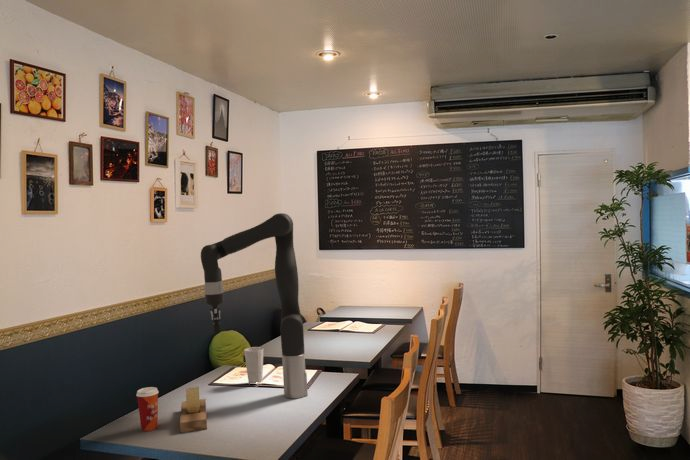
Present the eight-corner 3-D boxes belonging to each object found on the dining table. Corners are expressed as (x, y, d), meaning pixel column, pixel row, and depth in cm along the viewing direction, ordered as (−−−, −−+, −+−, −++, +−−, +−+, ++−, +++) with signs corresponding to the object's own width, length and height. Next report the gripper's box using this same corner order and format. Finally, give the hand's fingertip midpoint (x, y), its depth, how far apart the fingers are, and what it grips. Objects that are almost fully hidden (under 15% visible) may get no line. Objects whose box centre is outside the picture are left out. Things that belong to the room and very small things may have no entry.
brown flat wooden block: (205, 407, 224) (205, 398, 224) (206, 428, 201) (206, 419, 201) (182, 410, 222) (181, 401, 222) (180, 432, 199) (180, 422, 199)
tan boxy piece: (200, 415, 216) (198, 386, 215) (200, 421, 209) (198, 392, 209) (187, 417, 214) (186, 388, 214) (187, 423, 208) (185, 393, 207)
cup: (269, 381, 255) (267, 347, 255) (256, 387, 248) (254, 352, 248) (254, 379, 260) (253, 346, 260) (241, 384, 253) (240, 350, 252)
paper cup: (153, 432, 200) (151, 393, 200) (133, 431, 202) (131, 392, 201) (164, 424, 208) (162, 386, 208) (145, 423, 209) (143, 386, 209)
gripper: (224, 293, 230) (226, 333, 230) (222, 289, 243) (225, 327, 244) (204, 295, 228) (207, 335, 228) (204, 291, 241) (207, 329, 242)
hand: (216, 331), depth 236 cm, fingers open, 8 cm apart
